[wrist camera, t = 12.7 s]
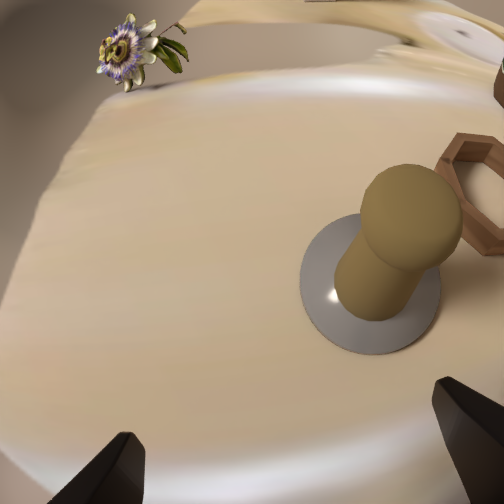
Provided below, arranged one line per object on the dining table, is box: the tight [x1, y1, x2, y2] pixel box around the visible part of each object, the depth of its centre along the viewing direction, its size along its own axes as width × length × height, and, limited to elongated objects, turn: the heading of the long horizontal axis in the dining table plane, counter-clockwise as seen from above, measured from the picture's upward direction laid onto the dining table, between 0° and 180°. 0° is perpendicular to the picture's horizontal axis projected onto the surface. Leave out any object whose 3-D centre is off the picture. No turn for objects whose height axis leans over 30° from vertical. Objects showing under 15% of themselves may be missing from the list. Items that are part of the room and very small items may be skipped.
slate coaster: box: [300, 214, 441, 355], centre depth 23 cm, size 11×11×1 cm
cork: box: [334, 164, 464, 321], centre depth 17 cm, size 6×6×11 cm
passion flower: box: [96, 13, 189, 92], centre depth 36 cm, size 11×11×12 cm
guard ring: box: [434, 133, 504, 256], centre depth 23 cm, size 11×11×3 cm
